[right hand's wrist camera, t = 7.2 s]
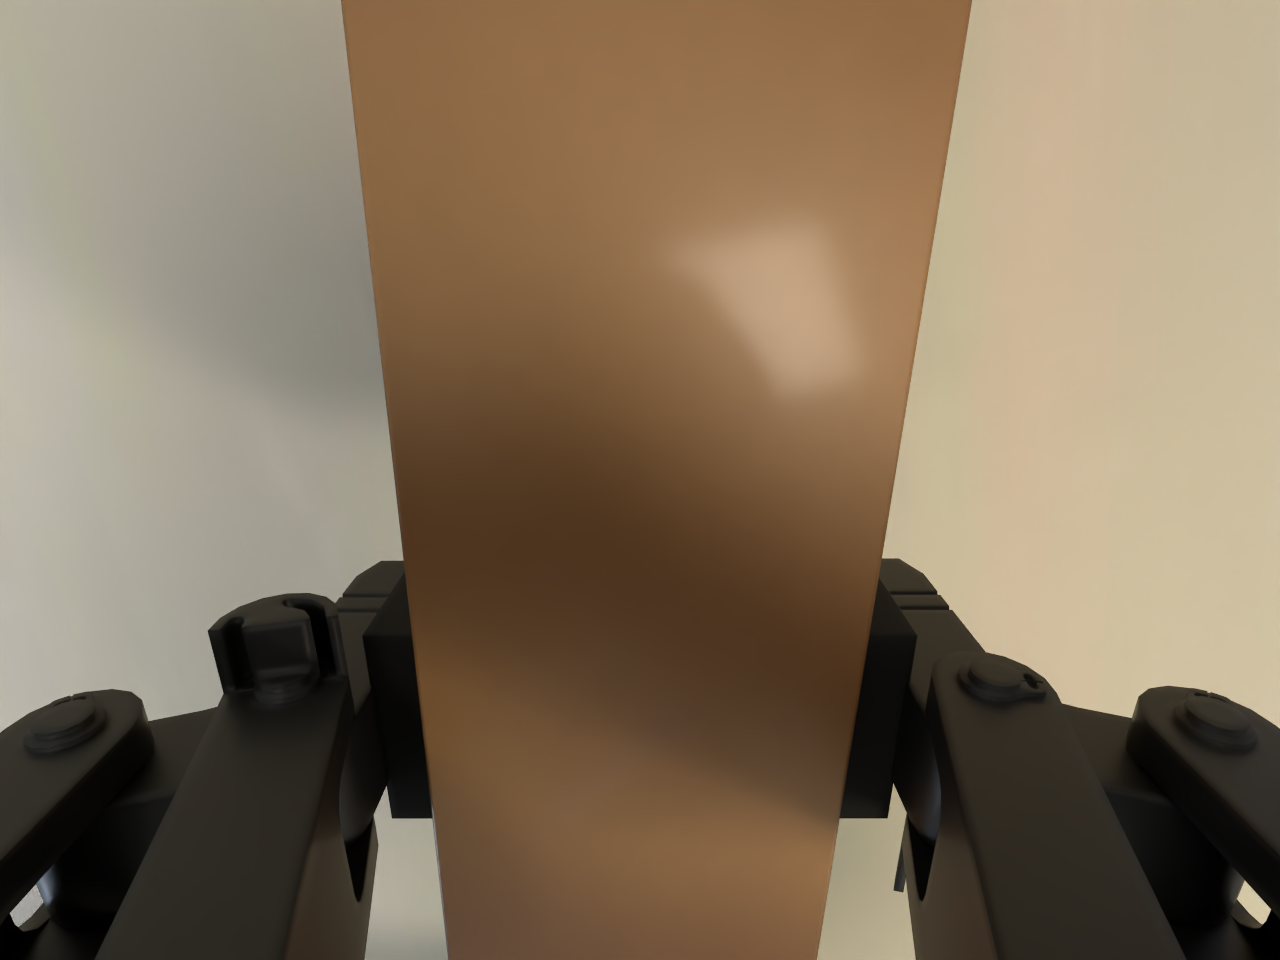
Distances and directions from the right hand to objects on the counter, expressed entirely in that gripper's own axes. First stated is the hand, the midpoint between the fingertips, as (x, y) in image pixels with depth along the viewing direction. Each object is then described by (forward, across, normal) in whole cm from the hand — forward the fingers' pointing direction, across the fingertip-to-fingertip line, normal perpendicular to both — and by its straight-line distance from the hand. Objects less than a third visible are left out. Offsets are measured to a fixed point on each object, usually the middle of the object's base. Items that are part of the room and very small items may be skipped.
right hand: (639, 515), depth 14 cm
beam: (+1, 0, -22) cm, 22 cm away
